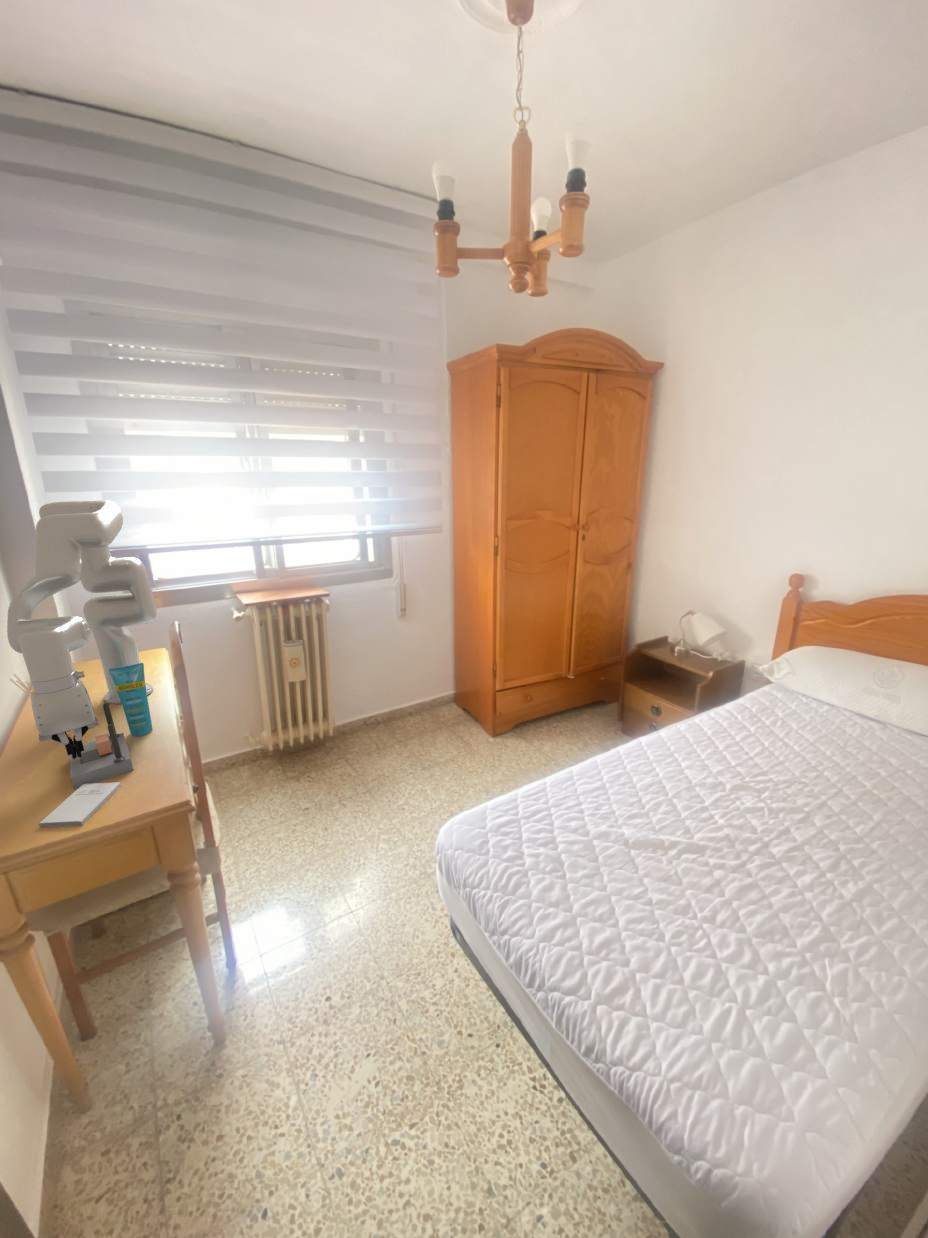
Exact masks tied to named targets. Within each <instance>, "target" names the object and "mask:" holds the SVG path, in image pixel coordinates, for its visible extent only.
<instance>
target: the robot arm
mask: <svg viewBox="0 0 928 1238" xmlns="http://www.w3.org/2000/svg"><path fill="white" fill-rule="evenodd" d="M38 514H39V520H38V521H37V522H36V525H35V547H34V548H35V555H34V556H35V557H34V558H35V560H34V575H32V577H31V578H30V579H29V580H28V581H26V582H25V583H24V584H23V585H22V586H21V588H19V590H18V591H17V592H16V593H15V595H14V596H13V598H12V599H11V601H10V603H9V606H8V610H7V621H6V622H7V625H6V626H7V629H6V634H7V641H8V644H9V645H10V647H11V649H12V650H14V651H15V652H17V653H19V654H22V657H23V660H24V663H25V666H26V669H27V672H28V676H29V679H30V683H31V685H32V688H33V689H32V691H31V692H30V703H31V709H32V710H31V711H32V714H33V717H34V723H35V727H36V729H37V732H38V741H39V742H46V741H55V742H58V743H61V744H62V745H63V746H64V747H65V750H66V754H67V756H69V755H71V754H72V757H73V759H75V758H77V757H82V755H81V752H82V751H84V747H83V744H84V743H83V740H82V739H83V737H84V736H85V735H86V733H87V732H88V730H91V729H94V728H95V727H97V726H100V725H99V724H100V723H99V720H98V719H97V717H96V715H95V710H94V709H95V708H94V706H93V703H92V699H91V698H90V695H89V692H88V690H87V688H86V685H85V684H84V682H83V681H82V680H80V679H82V678H85V672H84V671H77V670H75V667H74V664H73V660H72V656H71V652H73V651H75V650H78V649H80V648H82V647H83V646H85V645H86V644H87V643H88V642H89V640H90V638H91V637H92V636H93V638H94V641H95V645H96V648H97V651H98V657H99V660H100V664H101V667H102V672H103V675H104V679H105V682H106V687H107V690H108V691H107V692H106V693H105V694H104V696H103V700H104V703H108V704H113V705H116V704H119V705H120V704H121V701H120V698H119V695H118V692H117V689H116V686H115V684H114V681H113V679H112V676H111V674H110V672H109V670H108V669H111V668H118V667H124V666H129V665H134V664H138V663H142V662H141V659H140V655H139V654H140V653H139V649H138V646H137V640H136V638H135V637H134V635H133V633H131V631H129V630H128V629H127V628H125V627H129V626H139V625H141V626H142V625H146V624H150V623H153V622H154V621H156V618H157V606H156V601H155V598H154V594H153V590H152V587H151V582H150V577H149V574H148V571H147V568H146V566H145V565H144V563H143V561H141V560H140V559H139V558H137V557H131V556H130V557H129V556H127V557H113V556H112V555H111V551H110V547H109V546H110V545H111V544H112V543H113V542H114V541H115V539H116V537H117V536H118V534H119V533H120V532H121V531H122V528H123V524H124V517H123V513H122V510H121V508H120V507H119V505H117V504H116V503H115V502H114V501H111V500H84V501H83V500H81V501H80V500H77V501H75V500H74V501H73V500H70V501H56V502H55V501H54V502H49V503H45V504H43V505H42V506H41V507H40V508H39V510H38ZM79 582H81V586H82V587H83V589H84V590H85V591H87V592H88V593H91V594H102V593H113V592H114V593H116V592H130V593H121V594H120V593H118V594H108V595H107V594H106V595H99V596H94V597H92V598H89V599H88V600H87V601H85V603H84V606H83V609H82V610H83V611H82V612H83V615H84V617H85V618H83V617H81V616H76V615H75V616H74V615H71V616H70V615H69V616H67V615H65V616H58V617H56V616H55V617H46V618H36V619H32V616H33V613H34V611H35V609H37V607H38V605H40V604H41V603H42V602H43V601H45V600H46V599H47V598H49V597H51V596H54V595H55V594H57V593H60V592H61V591H63V590H65V589H68V588H71V587H72V586H75V585H76V584H77V583H79ZM145 685H146V692H147V696H148V695H150V694H151V693H152V692H153V690H154V688H153V685H152V684H151V683H147V682H145ZM73 730H74V735H73V738H72V737H70V736H69V735H68V733H67V732H70V731H73ZM76 753H77V755H76Z"/></svg>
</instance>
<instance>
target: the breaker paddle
mask: <svg viewBox="0 0 928 1238" xmlns="http://www.w3.org/2000/svg"><path fill="white" fill-rule="evenodd" d="M108 737H109V733H104V734H100V735H97V736H94V739H95V740H94V741H96V745H97V748H98V752H99V756H101V755H104V754H107V753H111V752H112V750H111V745H110V741H109V738H108Z"/></svg>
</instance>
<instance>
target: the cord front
mask: <svg viewBox="0 0 928 1238" xmlns="http://www.w3.org/2000/svg"><path fill="white" fill-rule="evenodd" d="M114 726H115V724H114V725H113V724H109V725H108V724H107V731H108V736H110V739H111V742H112V746H113V750H114V753H115V757H116V758H121V757H122V754H121V750H120V747H119V743H118V739H117V735H116V734H117V731H116V732H115V730H116V727H115V728H114Z"/></svg>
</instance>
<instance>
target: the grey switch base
mask: <svg viewBox="0 0 928 1238" xmlns="http://www.w3.org/2000/svg"><path fill="white" fill-rule="evenodd" d="M116 735H117V739H118V743H119V747H120V750H121V754H122V757H121V758H116V757H115V753H114V750H113V746H112V742H111V739H110V735H108V738H109V741H110V745H111V750H112V752H111V753H107V754H104V755H101V756H99V752H98V748H97V745H96V740H94V741H90V742H86V743H82V744H83V747H84V751H82V752H81V755H82V757H77V758H75V759H73V757H72V754H71V755H68V756H69V758H68V759H69V771H70V780H71V782H72V786H73V789H74V790H77V789H78V788H79V787H80V786H81V785H83V784H93V783H99V782H101V781H103V780H106V779H109V778H113V777H116V776H118V775H122V774H126V773H128V772H131V771H134V768H133V767H134V766H133V763H132V759H131V756H130V752H129V748H128V745H127V741H126V738H125V734H124V732H121V733H116ZM76 755H77V753H76Z"/></svg>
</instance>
